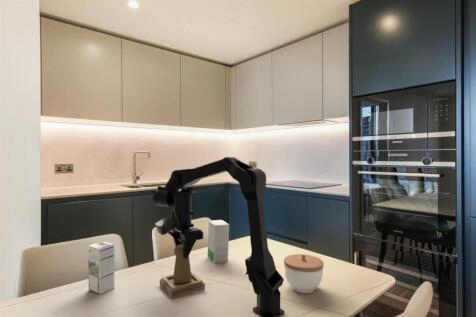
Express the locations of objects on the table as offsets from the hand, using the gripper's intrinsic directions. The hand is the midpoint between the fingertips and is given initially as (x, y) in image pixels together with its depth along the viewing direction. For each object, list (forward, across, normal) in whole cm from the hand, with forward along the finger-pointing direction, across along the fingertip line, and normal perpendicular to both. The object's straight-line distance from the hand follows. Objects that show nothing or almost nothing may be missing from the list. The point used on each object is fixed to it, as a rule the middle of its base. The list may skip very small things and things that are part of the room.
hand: (182, 255), depth 96 cm
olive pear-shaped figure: (+8, 0, 0) cm, 8 cm away
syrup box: (+10, -13, -22) cm, 28 cm away
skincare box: (+11, -16, +23) cm, 30 cm away
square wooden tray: (+10, 0, 0) cm, 10 cm away
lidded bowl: (+11, +22, +33) cm, 41 cm away
